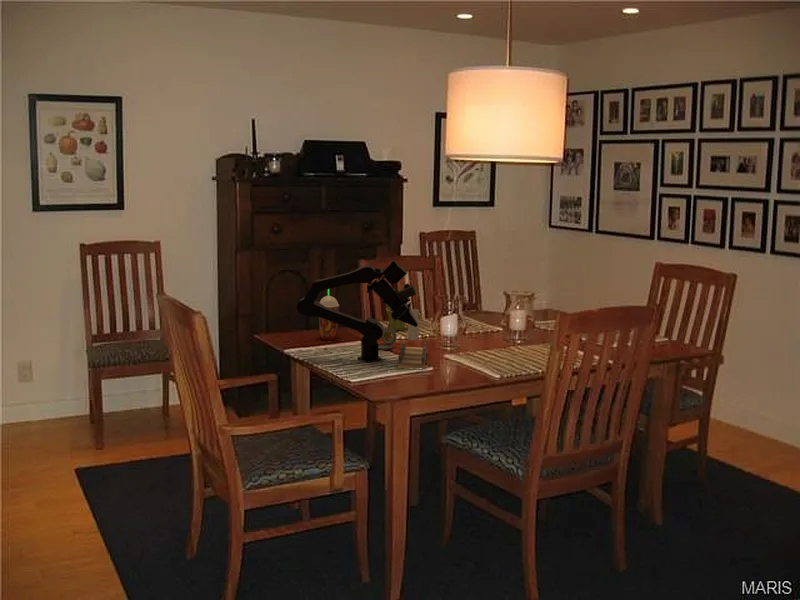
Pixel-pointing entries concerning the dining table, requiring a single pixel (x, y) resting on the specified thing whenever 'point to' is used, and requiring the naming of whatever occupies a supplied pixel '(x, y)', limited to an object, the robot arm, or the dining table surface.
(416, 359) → the tan piece
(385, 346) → the pocket watch
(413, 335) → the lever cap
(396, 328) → the plant pot
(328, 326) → the smoothie
